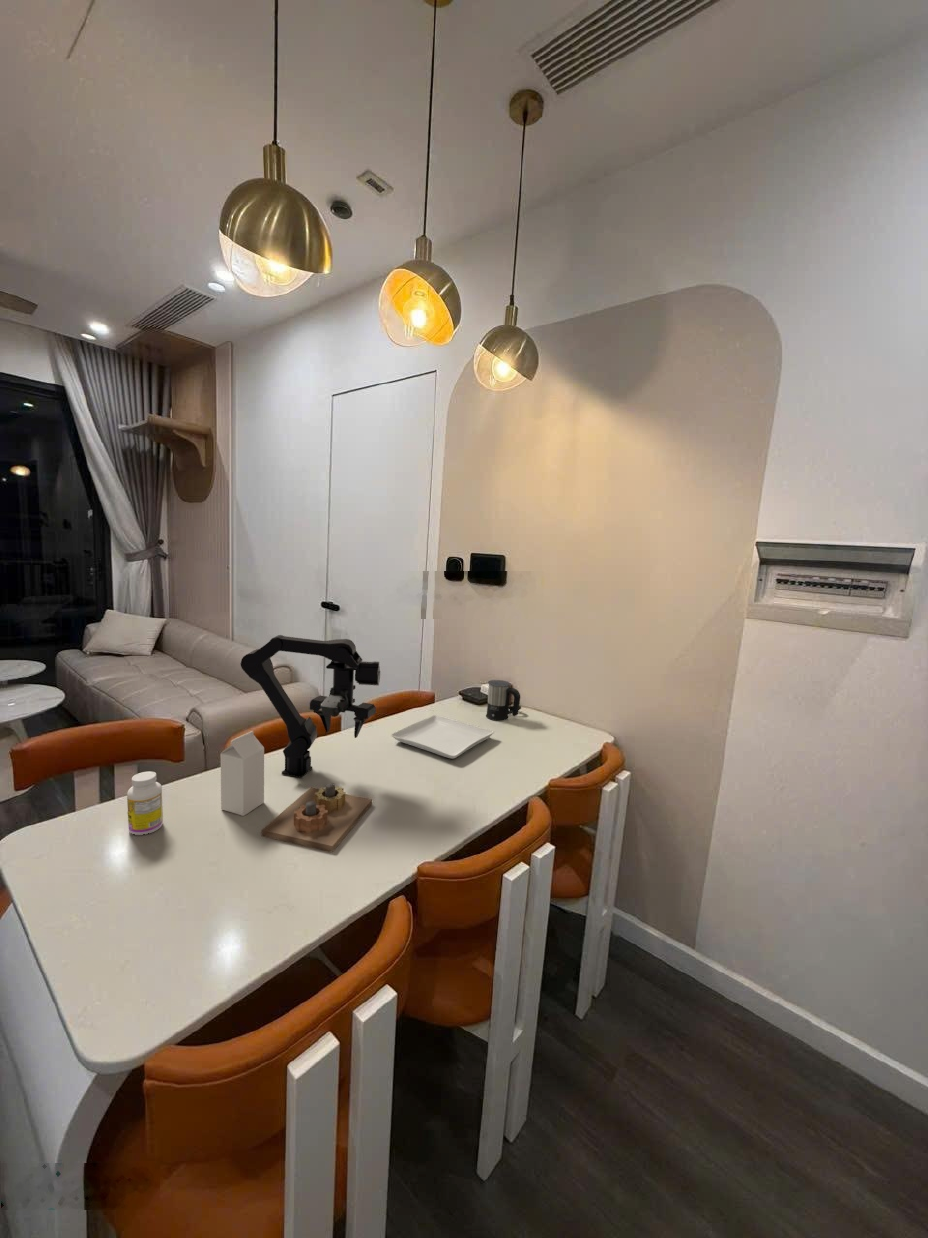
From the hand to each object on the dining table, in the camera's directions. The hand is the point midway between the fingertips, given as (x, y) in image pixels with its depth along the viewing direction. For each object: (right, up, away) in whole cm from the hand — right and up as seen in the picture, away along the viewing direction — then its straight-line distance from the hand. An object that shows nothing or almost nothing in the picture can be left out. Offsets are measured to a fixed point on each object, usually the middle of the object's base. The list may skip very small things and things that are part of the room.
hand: (341, 734), depth 140 cm
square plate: (+28, -10, +30) cm, 43 cm away
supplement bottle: (-37, -14, -30) cm, 50 cm away
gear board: (0, -16, -22) cm, 27 cm away
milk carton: (-20, -14, -19) cm, 31 cm away
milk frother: (+52, -7, +60) cm, 80 cm away
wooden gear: (+2, -13, -18) cm, 22 cm away
